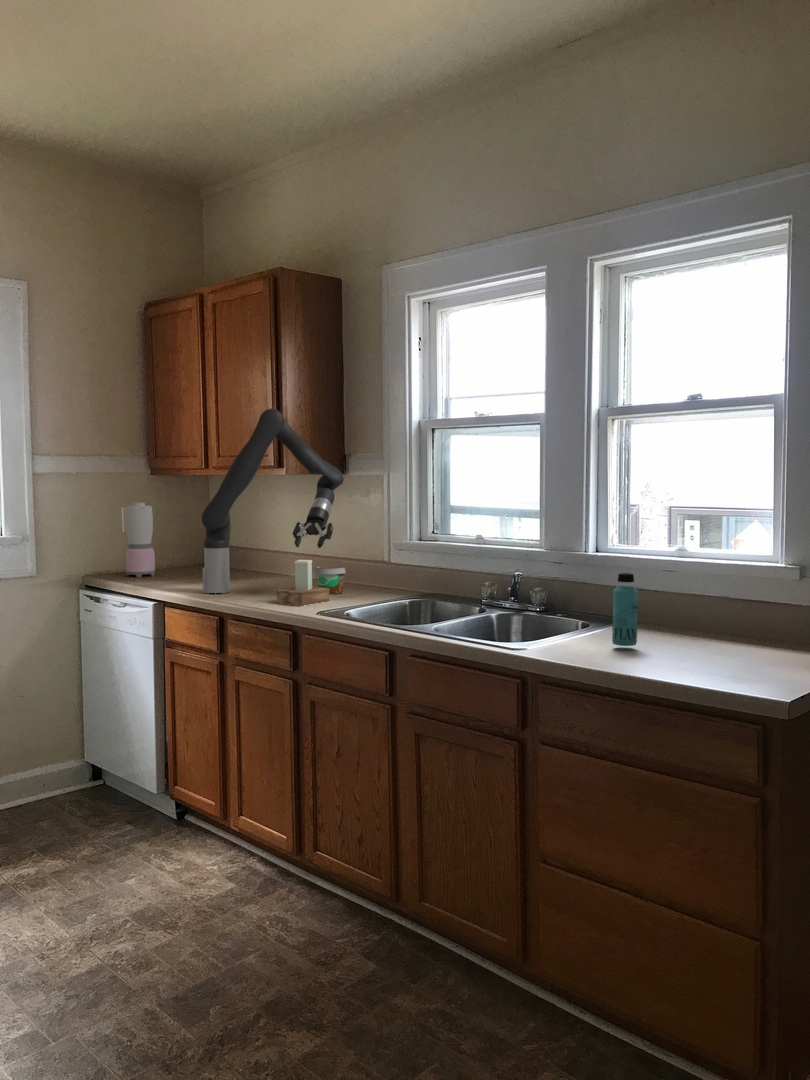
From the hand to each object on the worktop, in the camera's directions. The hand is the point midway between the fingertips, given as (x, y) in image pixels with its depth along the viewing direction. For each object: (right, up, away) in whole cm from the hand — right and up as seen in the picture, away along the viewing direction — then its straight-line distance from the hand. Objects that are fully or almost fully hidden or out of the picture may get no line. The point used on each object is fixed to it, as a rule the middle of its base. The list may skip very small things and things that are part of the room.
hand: (307, 546), depth 318 cm
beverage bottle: (+92, -27, -86) cm, 129 cm away
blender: (-82, -14, +73) cm, 111 cm away
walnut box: (-1, -20, -6) cm, 21 cm away
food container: (+6, -18, +14) cm, 24 cm away
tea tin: (-1, -15, -6) cm, 16 cm away
